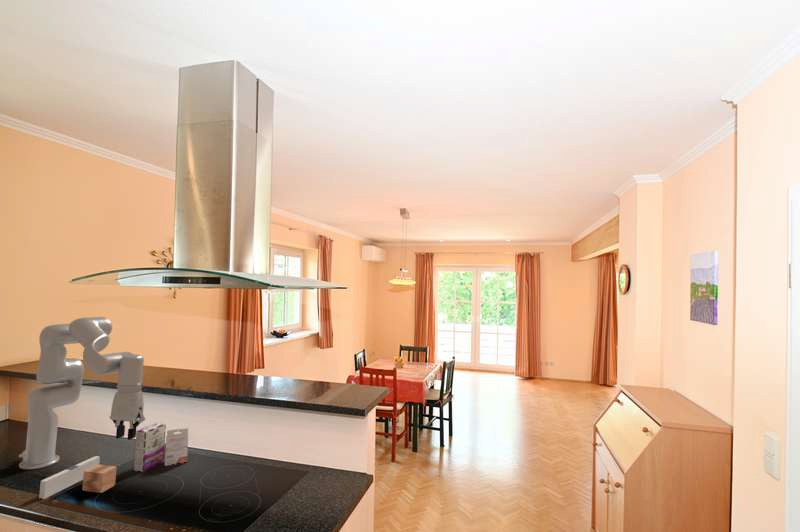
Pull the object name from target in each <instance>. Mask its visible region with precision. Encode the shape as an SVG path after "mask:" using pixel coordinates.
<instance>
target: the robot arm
mask: <svg viewBox="0 0 800 532" xmlns="http://www.w3.org/2000/svg"><path fill="white" fill-rule="evenodd" d="M112 330H113V323H112V322H111V320H110V319H109V318H107V317H105V316H95V317H93V316H91V317H89V316H88V317H80V318H76V319H74V320H72V321H71V322H70V323H59V324H51V325H47V326H45V327H43V329H42V330H41V331H40V334H39V347H40V354H39V360H38V365H37V370H36V381H37V383H38V384H41V385H45V386H41V387H38V388H37V387H36V388H35V389H33V390H32V391H30V392H28V395H27V399H26V403H27V408H28V409H27V410H28V411H27V412H28V422H27V432H26V433H27V434H26V443H25V450H23V451H22V453H20V454H19V455H18V458H21V459H22V461H20V462H19V464H18V468H19V469H22V470H36V469H43V468H45V467H49V466H52V465H54V464H56V463H58V462H59V461H60V456H59V455H57V454H56V446H57V445H56V444H57V435H58V426H59V418H58V415H57V414H56V412H55V411H54V410H53V409H54V408H55V409H56V408H60V407H65V406H68V405H72V404H74V403H76V402H77V401H78V400H79V397H80V394H81V390H82V385H83V380H84V374H85V373H84V371H85V368H84V365H85V366H86V367H87V369H88V370H89V371H90V372H92V373H93V374H94V375H97V376H105V375H110V374H118V383H117V385H116V386H115V387H116V388H117V391H116V392H115V394H114V396H113V399H112V405H111V409H110V410H111V411H110V416H109V419H110V421H112V422H113V424H114V426H115V428H116V432H115V438H116V439H120V438H124V436H125V433H126V432H125V431H126V425H125V422H128V423H129V428H128V430H127V441H128V440H129V441H130V440H133V439H136V431H137V427H139V425H140V424H142V423H143V422H144V421H146V418H145V415H144V406H145V405H144V394H143V391H142V386H143V373H144V361H145V358H144V356H143V355H141V354H134V353H132V352H129V351H121V352H114V353H113V352H112V353H105V354H101V353H100V352H102V351H103V350H105V349H106V348H107V347H108V346H109V344H110V341H111V339H110V336H109V335H110V334H111V333H112ZM71 344H72V345H74V344H80V345H81V346H82V347H83V348H84V349H83V352H82V360H81V359H80V358H79V359H78V358H73V357H72V358H67V353H68V350H67V348H66V346H65V345H71ZM83 363H84V364H83Z"/></svg>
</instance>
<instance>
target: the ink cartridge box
mask: <svg viewBox="0 0 800 532" xmlns="http://www.w3.org/2000/svg"><path fill="white" fill-rule="evenodd" d="M188 445H189V428H188V427H186V428H178V429H168V430H167V431H166V436H165V448H164V466H165V467H167V466H173V465H172V464H174V465H178V464H177V463H181V464H184V463H183V462H186V463H187V461H188V452H189V451H188V449H189V446H188Z"/></svg>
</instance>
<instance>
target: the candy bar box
mask: <svg viewBox="0 0 800 532" xmlns="http://www.w3.org/2000/svg"><path fill="white" fill-rule="evenodd" d="M166 426H167V425H166V423H165V422H155V423H153V424H150V425H147V426H145V427H143V428H140V429H136V437H135V449H134V463H133V466H134V467H133V471H134V472H138V471H140V472H139V473H144V471H145V472H146V471H148V470H150V469H152V468H155V466H158V465H159V464H161V463H163V462H165V447H166Z"/></svg>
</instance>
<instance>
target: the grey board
mask: <svg viewBox="0 0 800 532" xmlns="http://www.w3.org/2000/svg"><path fill="white" fill-rule="evenodd" d="M100 459H101V457H100V456H99V455H97V456H96V455H95V456H92V457H91V458H89V459H86V460H84V461H82V462H79V463H78V464H75V465H74V464H73V465H71V466H70V467H68V468H66V469H63V470H62V471H59V472H58V473H55V474H53V475H51V476H49V477H46V478H44V479H42V480H40V484H39V485H40V486H39V494H38V495H39V496H38V498H39V499H40V498H41V499H43V500H45V499H47V498H49V497H51V496H53V495H55V494H58V493H59V492H61V491H63V490H65V489H67V488H69V487H71V486H73V485H75V484H77V483H78V482H82V481H83V476H84V471H85V470H87V469H90V468H92V467H94V466H96V465H98V464H99V465H100V461H101V460H100ZM41 499H40V500H41Z"/></svg>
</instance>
